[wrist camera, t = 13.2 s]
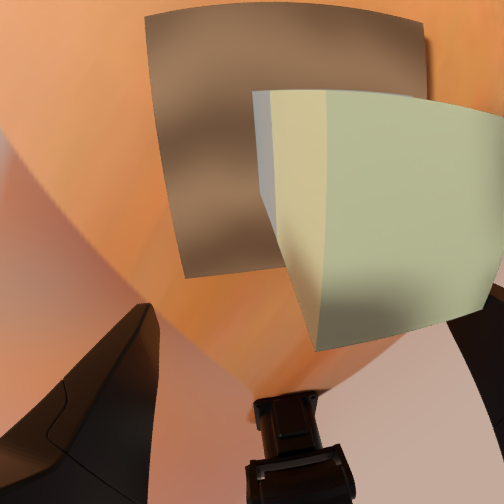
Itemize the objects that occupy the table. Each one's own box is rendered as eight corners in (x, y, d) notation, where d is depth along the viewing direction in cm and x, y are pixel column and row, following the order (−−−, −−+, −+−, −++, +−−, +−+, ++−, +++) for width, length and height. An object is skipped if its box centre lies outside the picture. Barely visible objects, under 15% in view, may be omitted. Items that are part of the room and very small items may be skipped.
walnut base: (396, 235, 19) (411, 249, 17) (188, 259, 19) (185, 278, 17) (403, 26, 12) (422, 23, 10) (153, 25, 11) (144, 16, 10)
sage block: (403, 228, 11) (482, 309, 6) (277, 241, 10) (315, 351, 6) (414, 97, 8) (529, 125, 4) (269, 90, 8) (326, 90, 4)
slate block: (354, 185, 15) (403, 226, 11) (259, 192, 15) (277, 240, 10) (355, 90, 12) (413, 96, 8) (252, 91, 12) (268, 90, 8)
